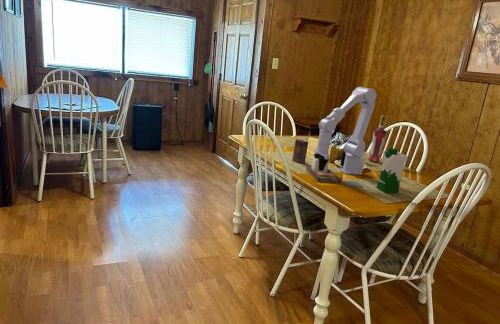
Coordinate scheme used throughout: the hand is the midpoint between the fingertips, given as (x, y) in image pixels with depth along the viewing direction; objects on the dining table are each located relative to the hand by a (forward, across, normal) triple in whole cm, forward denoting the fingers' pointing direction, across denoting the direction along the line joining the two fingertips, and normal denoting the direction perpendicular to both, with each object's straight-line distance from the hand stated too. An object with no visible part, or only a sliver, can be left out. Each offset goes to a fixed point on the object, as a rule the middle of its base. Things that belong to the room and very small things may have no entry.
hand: (319, 169), depth 184 cm
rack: (+2, +4, 0) cm, 5 cm away
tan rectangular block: (+2, +10, 0) cm, 10 cm away
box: (+2, -18, -5) cm, 19 cm away
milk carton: (+2, +22, +26) cm, 34 cm away
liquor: (+2, -30, +47) cm, 56 cm away
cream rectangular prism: (+2, 0, 0) cm, 2 cm away
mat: (+2, +16, +11) cm, 19 cm away
